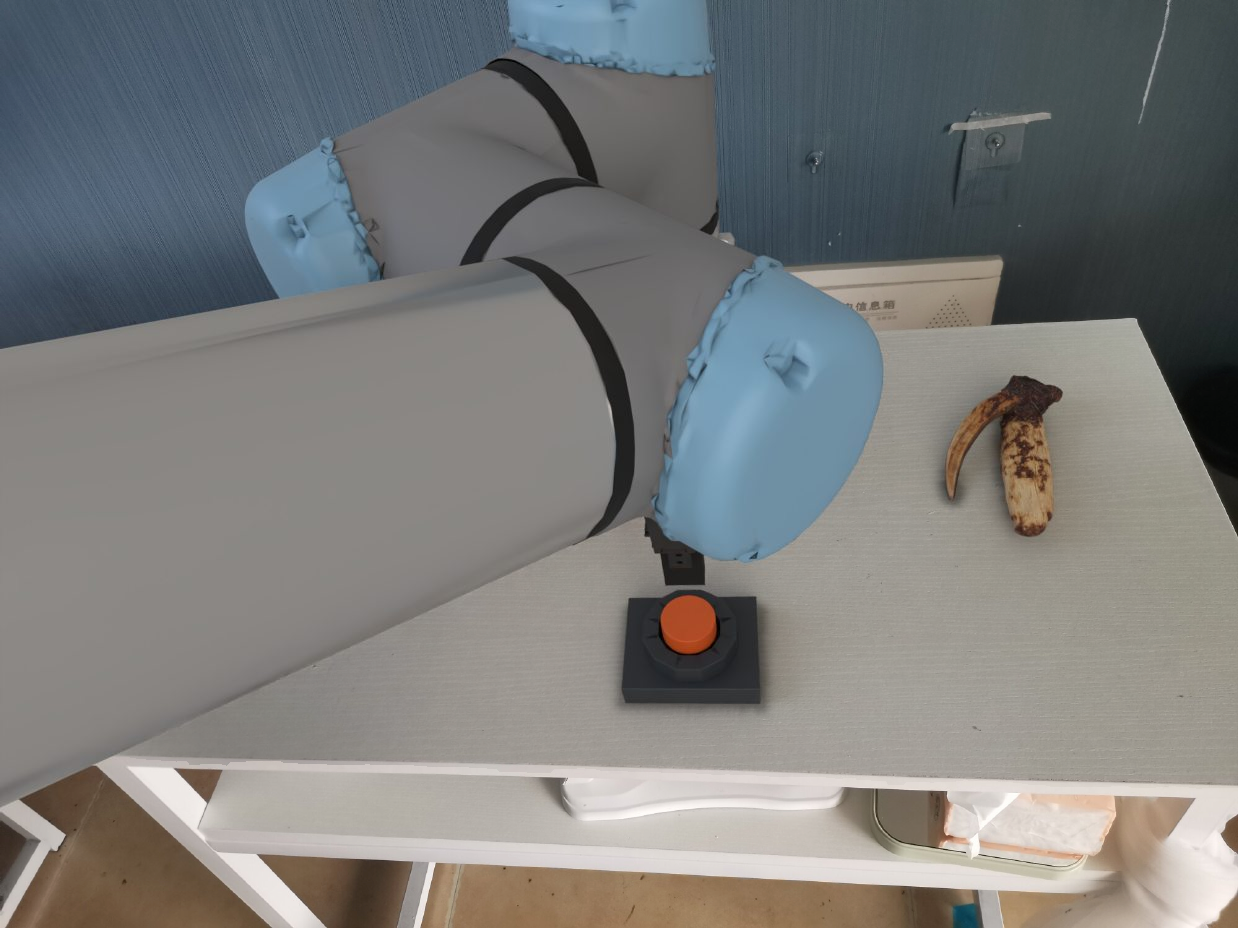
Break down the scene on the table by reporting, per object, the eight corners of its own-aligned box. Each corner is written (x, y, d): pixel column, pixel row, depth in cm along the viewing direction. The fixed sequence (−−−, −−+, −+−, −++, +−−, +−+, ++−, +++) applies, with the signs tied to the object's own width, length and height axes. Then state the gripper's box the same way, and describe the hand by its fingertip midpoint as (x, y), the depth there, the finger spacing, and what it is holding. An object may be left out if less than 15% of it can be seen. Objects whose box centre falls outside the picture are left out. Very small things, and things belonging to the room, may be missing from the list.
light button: (661, 654, 64) (659, 641, 63) (663, 608, 67) (661, 595, 66) (716, 654, 64) (715, 641, 63) (716, 607, 67) (715, 594, 65)
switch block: (625, 703, 66) (618, 676, 63) (631, 612, 72) (625, 584, 69) (760, 704, 65) (759, 676, 62) (756, 611, 70) (756, 582, 67)
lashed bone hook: (944, 396, 84) (942, 541, 72) (950, 357, 81) (948, 503, 69) (1052, 401, 82) (1068, 553, 70) (1062, 361, 78) (1080, 514, 66)
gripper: (725, 385, 39) (742, 660, 56) (723, 219, 47) (738, 501, 65) (557, 393, 40) (624, 660, 57) (585, 230, 49) (636, 505, 66)
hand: (685, 576), depth 61 cm, fingers closed
